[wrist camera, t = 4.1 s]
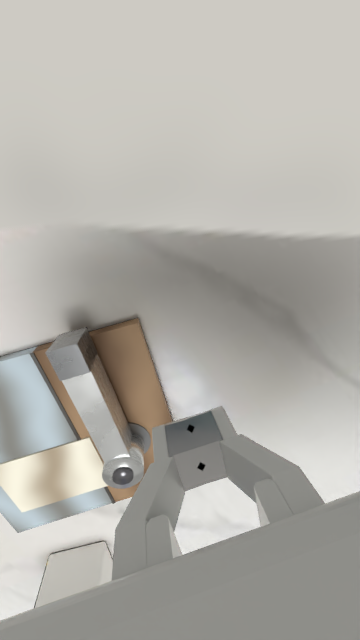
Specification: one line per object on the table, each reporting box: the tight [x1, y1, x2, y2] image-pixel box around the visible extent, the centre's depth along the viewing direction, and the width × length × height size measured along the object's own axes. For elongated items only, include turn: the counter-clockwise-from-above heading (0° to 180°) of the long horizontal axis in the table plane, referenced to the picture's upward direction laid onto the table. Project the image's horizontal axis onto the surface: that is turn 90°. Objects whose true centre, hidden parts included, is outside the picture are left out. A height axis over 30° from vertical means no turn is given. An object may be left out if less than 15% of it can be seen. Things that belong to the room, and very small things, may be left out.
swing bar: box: [45, 327, 144, 489], centre depth 20 cm, size 15×4×3 cm, turn 14°
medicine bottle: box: [34, 541, 113, 608], centre depth 26 cm, size 7×7×12 cm
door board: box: [0, 318, 173, 533], centre depth 24 cm, size 20×20×1 cm
